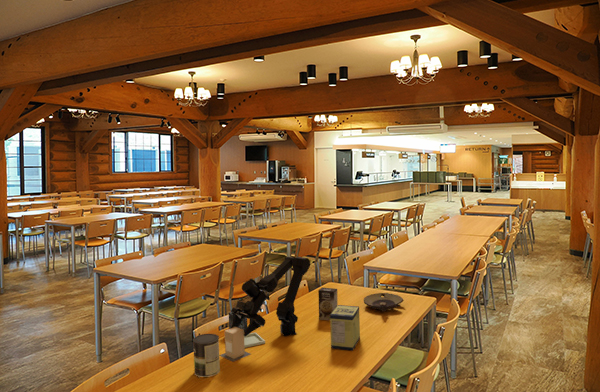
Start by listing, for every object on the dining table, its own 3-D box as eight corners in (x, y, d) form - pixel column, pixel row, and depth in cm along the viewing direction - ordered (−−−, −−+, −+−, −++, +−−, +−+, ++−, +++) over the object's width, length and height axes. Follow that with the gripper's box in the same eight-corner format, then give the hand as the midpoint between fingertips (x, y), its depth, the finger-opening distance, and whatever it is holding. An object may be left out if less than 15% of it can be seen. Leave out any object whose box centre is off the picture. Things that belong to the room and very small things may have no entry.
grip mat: (237, 348, 200) (237, 348, 200) (251, 354, 193) (251, 354, 193) (219, 356, 193) (219, 355, 193) (233, 362, 186) (233, 361, 186)
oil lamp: (408, 304, 257) (408, 291, 257) (390, 319, 232) (390, 305, 231) (373, 299, 269) (373, 287, 269) (352, 313, 244) (352, 300, 243)
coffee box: (318, 319, 235) (317, 290, 234) (322, 315, 241) (321, 287, 240) (334, 321, 232) (333, 291, 231) (338, 317, 238) (337, 288, 237)
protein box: (360, 338, 208) (359, 305, 207) (353, 351, 193) (352, 316, 192) (338, 336, 212) (338, 304, 211) (330, 348, 197) (329, 314, 196)
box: (233, 336, 215) (232, 315, 215) (229, 332, 220) (228, 312, 220) (248, 332, 220) (247, 311, 219) (243, 329, 224) (242, 309, 224)
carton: (236, 350, 197) (235, 326, 197) (245, 354, 193) (244, 329, 192) (225, 355, 193) (224, 330, 192) (233, 359, 188) (232, 334, 188)
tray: (255, 335, 215) (255, 332, 215) (265, 344, 204) (265, 340, 204) (231, 340, 210) (231, 337, 210) (239, 349, 199) (239, 346, 199)
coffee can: (192, 379, 172) (190, 344, 171) (196, 367, 182) (194, 334, 181) (219, 377, 173) (217, 342, 172) (221, 365, 183) (220, 332, 182)
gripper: (233, 290, 203) (214, 319, 196) (259, 297, 190) (240, 328, 183) (247, 302, 209) (229, 331, 202) (273, 310, 196) (255, 341, 189)
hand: (237, 333), depth 194 cm, fingers open, 9 cm apart
